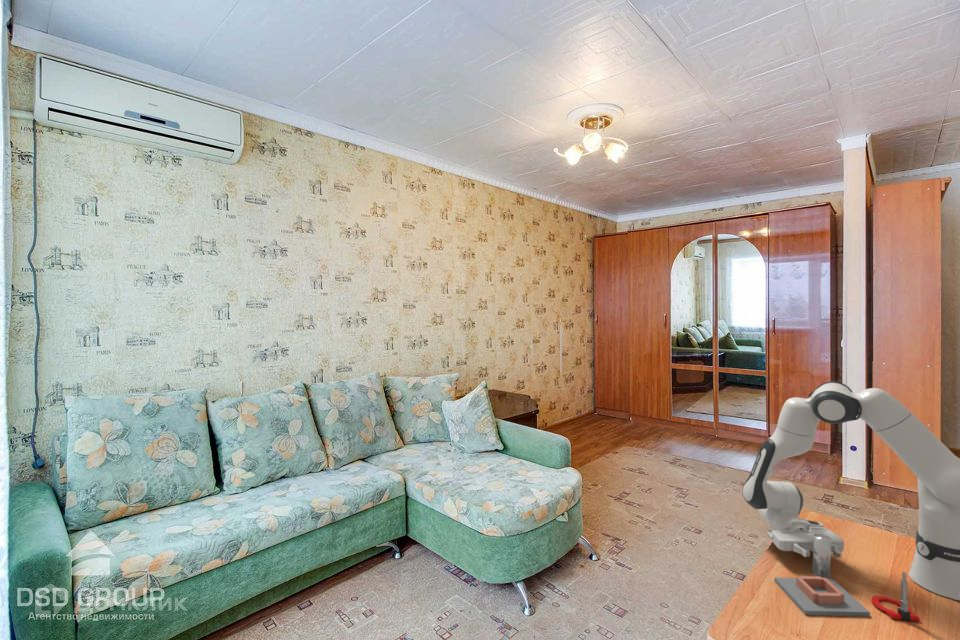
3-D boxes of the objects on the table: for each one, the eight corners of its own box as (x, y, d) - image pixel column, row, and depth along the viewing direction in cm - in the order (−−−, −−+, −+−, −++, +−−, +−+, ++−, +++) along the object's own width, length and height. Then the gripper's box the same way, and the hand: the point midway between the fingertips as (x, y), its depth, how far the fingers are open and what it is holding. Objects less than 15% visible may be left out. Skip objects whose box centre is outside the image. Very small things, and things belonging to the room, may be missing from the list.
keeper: (832, 582, 135) (832, 570, 134) (869, 616, 121) (870, 603, 120) (774, 581, 136) (774, 569, 135) (805, 614, 122) (805, 601, 122)
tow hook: (864, 598, 128) (888, 620, 119) (864, 554, 128) (889, 573, 119) (896, 600, 127) (923, 623, 118) (897, 556, 127) (924, 575, 118)
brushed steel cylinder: (823, 569, 141) (824, 533, 140) (833, 578, 136) (834, 541, 136) (809, 569, 141) (810, 533, 140) (818, 578, 137) (820, 541, 136)
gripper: (763, 521, 152) (789, 545, 138) (825, 522, 150) (857, 545, 137) (763, 539, 152) (788, 564, 138) (825, 540, 151) (857, 565, 137)
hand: (823, 555), depth 138 cm, fingers open, 8 cm apart
